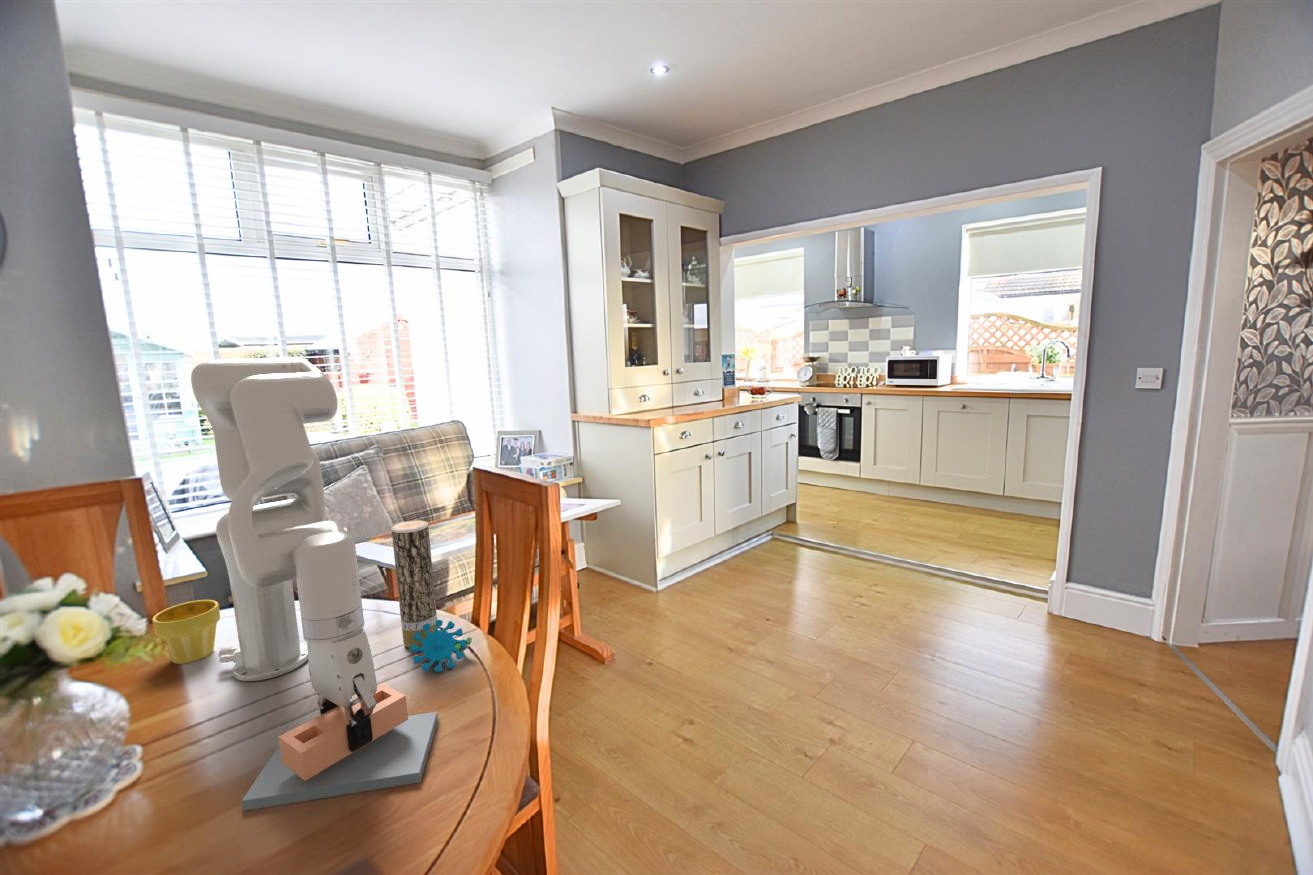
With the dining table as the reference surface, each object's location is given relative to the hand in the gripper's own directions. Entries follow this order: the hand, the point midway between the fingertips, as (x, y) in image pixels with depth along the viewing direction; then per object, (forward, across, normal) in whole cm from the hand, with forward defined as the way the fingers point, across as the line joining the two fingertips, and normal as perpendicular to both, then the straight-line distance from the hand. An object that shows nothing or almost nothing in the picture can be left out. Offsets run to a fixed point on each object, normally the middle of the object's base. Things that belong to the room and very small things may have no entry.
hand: (347, 736), depth 84 cm
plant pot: (+4, +59, 0) cm, 59 cm away
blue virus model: (+4, +12, -24) cm, 27 cm away
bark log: (+4, +23, -27) cm, 36 cm away
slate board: (+4, 0, 0) cm, 4 cm away
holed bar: (+1, 0, 0) cm, 1 cm away
